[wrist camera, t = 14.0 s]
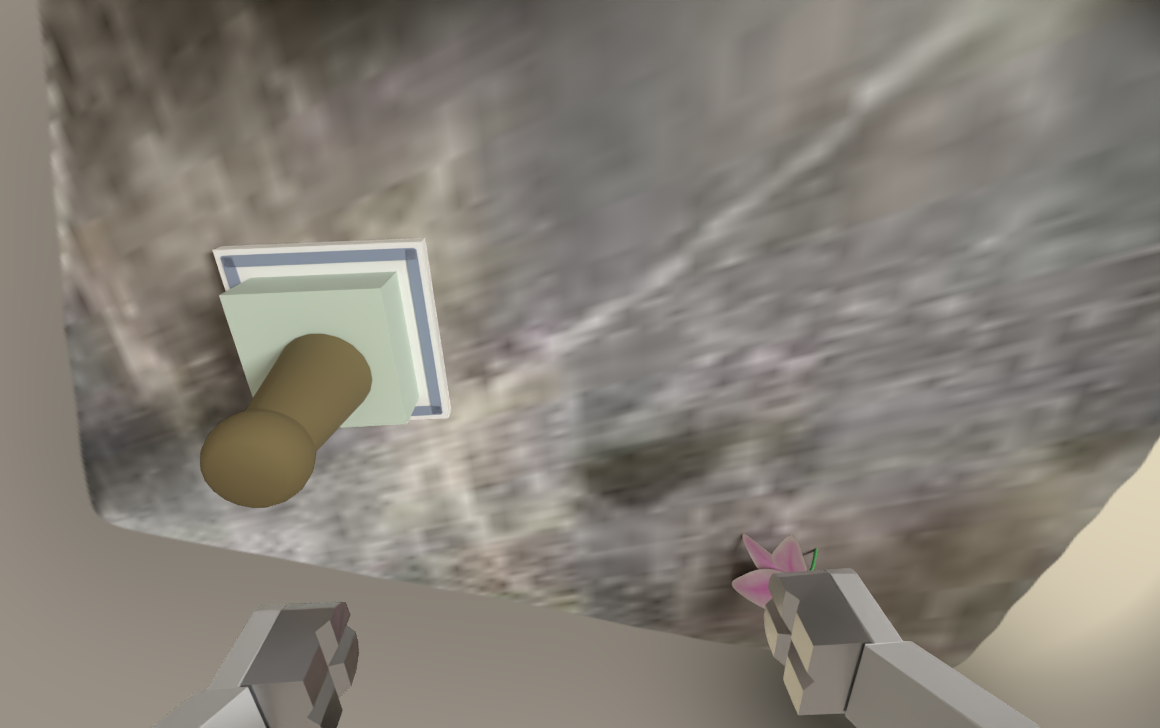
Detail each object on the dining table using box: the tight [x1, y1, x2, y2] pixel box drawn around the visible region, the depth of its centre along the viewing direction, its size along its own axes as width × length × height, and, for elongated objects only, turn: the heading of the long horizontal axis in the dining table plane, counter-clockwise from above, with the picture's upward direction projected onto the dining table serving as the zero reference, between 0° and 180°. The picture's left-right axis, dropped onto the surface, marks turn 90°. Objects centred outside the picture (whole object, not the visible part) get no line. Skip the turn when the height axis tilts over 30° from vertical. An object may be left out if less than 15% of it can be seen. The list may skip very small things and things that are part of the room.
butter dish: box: [213, 238, 451, 428], centre depth 38 cm, size 14×14×5 cm
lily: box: [732, 534, 818, 608], centre depth 49 cm, size 12×12×10 cm
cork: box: [200, 334, 372, 508], centre depth 31 cm, size 6×6×11 cm
